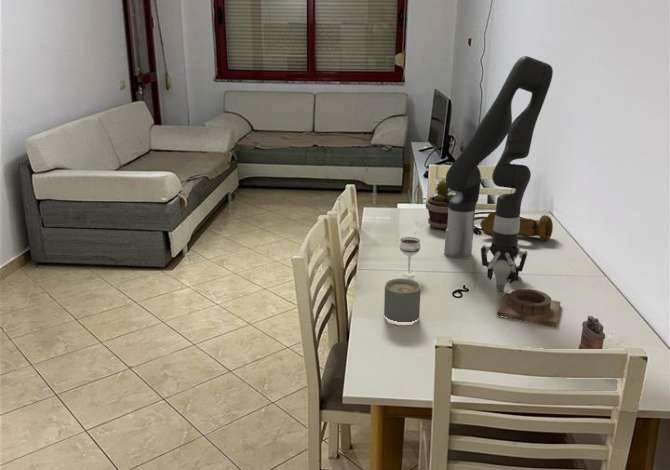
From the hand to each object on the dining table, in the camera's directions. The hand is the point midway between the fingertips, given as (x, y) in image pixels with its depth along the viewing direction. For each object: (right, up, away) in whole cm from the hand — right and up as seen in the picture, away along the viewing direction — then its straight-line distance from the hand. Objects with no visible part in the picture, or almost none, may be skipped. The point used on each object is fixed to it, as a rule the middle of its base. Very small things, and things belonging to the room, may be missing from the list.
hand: (501, 280), depth 184 cm
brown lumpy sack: (+12, -16, -35) cm, 41 cm away
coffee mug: (-32, -9, -14) cm, 36 cm away
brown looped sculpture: (+19, +13, +48) cm, 53 cm away
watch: (+6, 0, +11) cm, 13 cm away
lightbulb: (0, -4, +1) cm, 4 cm away
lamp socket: (+5, -8, -12) cm, 15 cm away
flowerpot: (-7, +17, +60) cm, 63 cm away
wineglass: (-27, +1, +14) cm, 30 cm away
